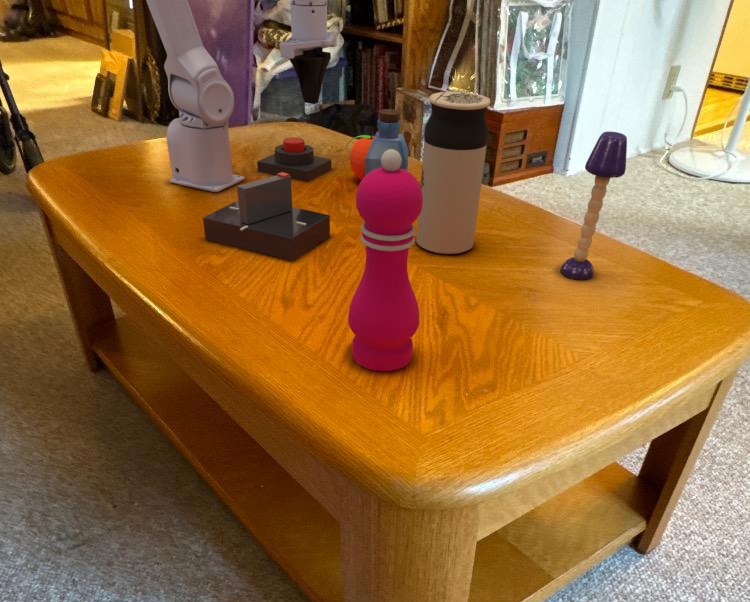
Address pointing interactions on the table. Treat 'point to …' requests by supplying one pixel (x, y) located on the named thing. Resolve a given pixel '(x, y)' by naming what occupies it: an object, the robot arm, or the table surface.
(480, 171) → the travel mug
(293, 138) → the button
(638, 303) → the table surface
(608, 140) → the toy lamp
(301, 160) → the control block
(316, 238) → the base
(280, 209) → the upright grey panel
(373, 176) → the pepper mill
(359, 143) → the clementine
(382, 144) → the perfume bottle
